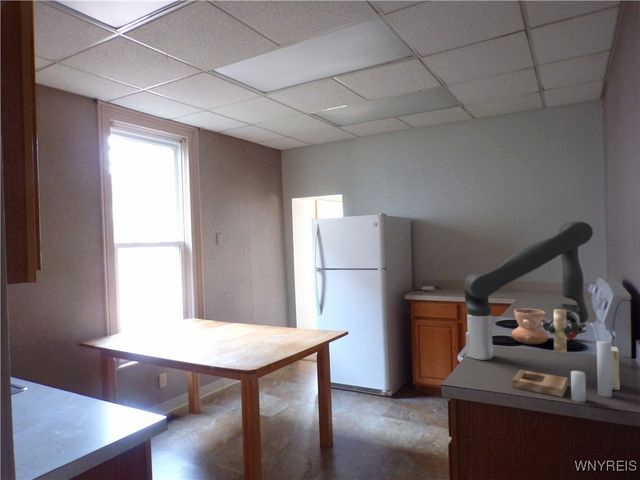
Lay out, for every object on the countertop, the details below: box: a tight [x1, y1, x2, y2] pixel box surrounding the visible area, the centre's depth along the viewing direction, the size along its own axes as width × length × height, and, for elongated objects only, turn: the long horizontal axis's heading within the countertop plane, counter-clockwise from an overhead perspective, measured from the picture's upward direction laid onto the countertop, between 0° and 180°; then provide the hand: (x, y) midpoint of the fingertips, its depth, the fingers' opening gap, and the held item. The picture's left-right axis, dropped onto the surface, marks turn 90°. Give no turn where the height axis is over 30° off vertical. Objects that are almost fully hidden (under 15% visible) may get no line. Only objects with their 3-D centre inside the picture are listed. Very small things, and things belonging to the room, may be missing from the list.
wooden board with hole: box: [512, 369, 569, 398], centre depth 130 cm, size 14×11×2 cm
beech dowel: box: [553, 308, 568, 355], centre depth 134 cm, size 4×4×14 cm
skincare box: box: [611, 345, 621, 391], centre depth 128 cm, size 6×4×12 cm
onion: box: [567, 333, 578, 341], centre depth 180 cm, size 6×6×8 cm
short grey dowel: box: [570, 370, 587, 403], centre depth 119 cm, size 4×4×8 cm
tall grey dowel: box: [596, 340, 613, 398], centre depth 122 cm, size 4×4×16 cm
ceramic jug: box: [511, 308, 549, 345], centre depth 180 cm, size 18×14×14 cm
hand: (558, 331), depth 132 cm, fingers closed on beech dowel, 3 cm apart
